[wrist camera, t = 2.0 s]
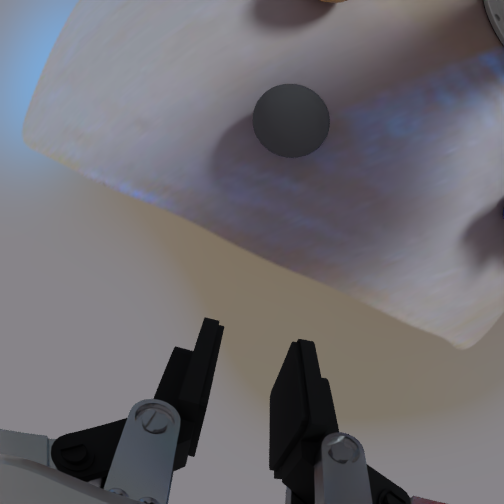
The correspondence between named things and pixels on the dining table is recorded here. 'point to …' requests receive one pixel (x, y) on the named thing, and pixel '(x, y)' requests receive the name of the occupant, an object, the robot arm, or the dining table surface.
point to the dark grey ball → (291, 120)
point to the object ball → (333, 1)
